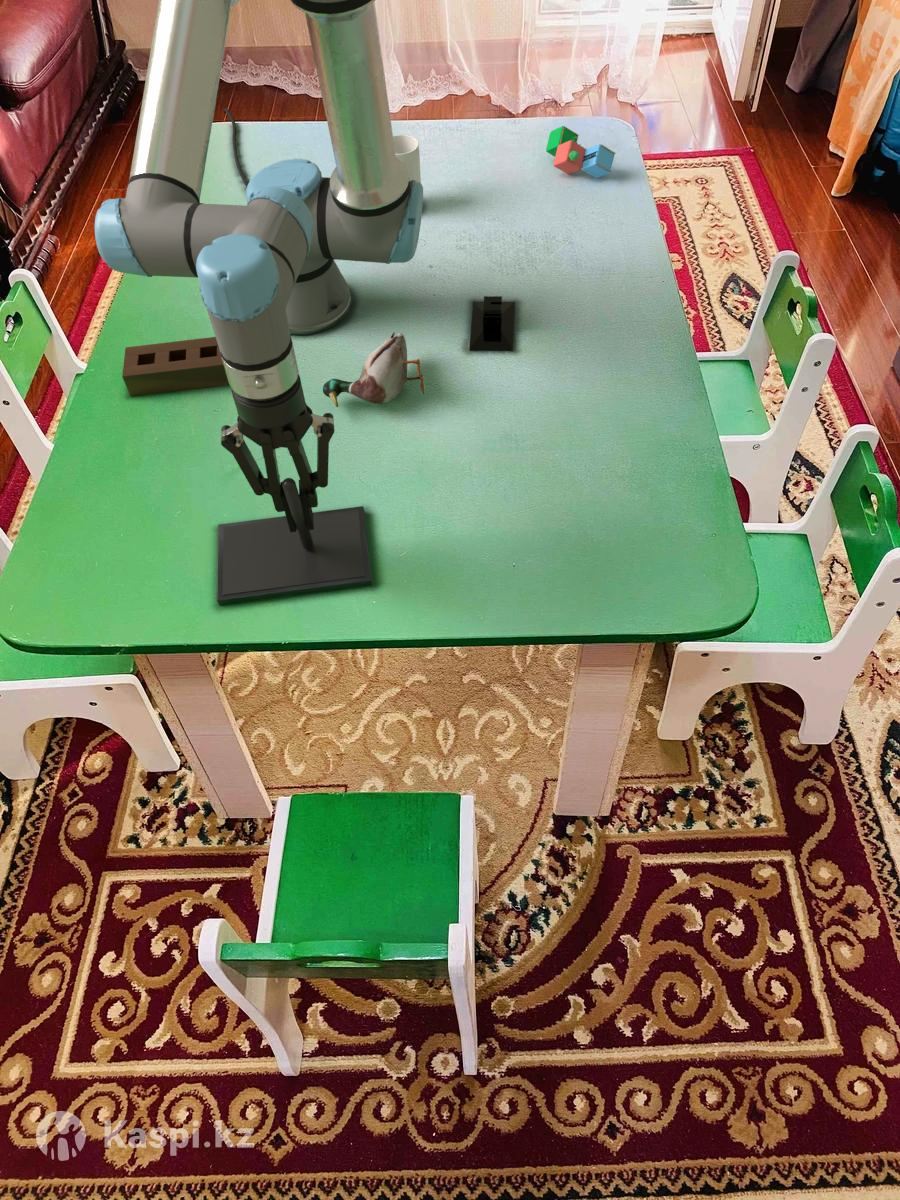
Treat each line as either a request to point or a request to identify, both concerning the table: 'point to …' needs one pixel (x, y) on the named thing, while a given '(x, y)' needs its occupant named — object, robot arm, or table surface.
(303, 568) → the tablet
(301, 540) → the stylus
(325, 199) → the robot arm
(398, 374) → the decorative duck model
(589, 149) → the building blocks
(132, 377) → the pen stand
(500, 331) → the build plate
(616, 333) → the table surface
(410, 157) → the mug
